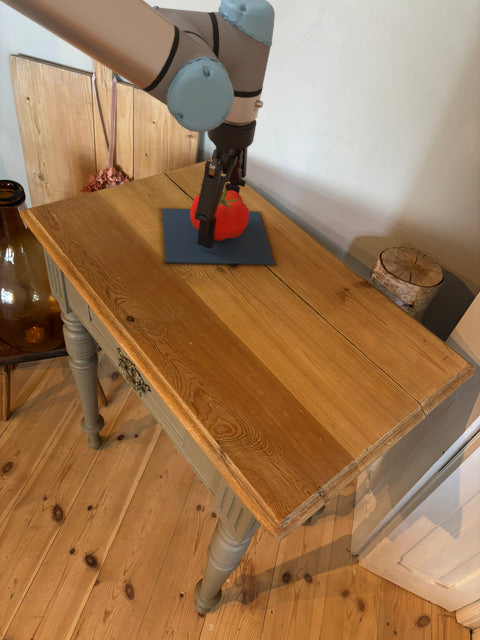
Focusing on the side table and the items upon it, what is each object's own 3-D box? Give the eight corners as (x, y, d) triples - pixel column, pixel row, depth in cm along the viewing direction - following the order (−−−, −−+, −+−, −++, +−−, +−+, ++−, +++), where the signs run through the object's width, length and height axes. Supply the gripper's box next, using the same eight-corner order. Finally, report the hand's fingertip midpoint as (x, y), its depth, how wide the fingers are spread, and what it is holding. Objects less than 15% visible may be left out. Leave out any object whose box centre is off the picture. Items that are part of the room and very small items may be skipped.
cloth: (165, 263, 82) (166, 261, 82) (162, 209, 92) (162, 208, 92) (274, 264, 86) (274, 263, 86) (258, 213, 97) (259, 211, 96)
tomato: (254, 243, 87) (261, 210, 82) (200, 252, 83) (204, 218, 78) (231, 210, 93) (237, 177, 88) (180, 217, 89) (183, 182, 84)
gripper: (227, 153, 64) (210, 271, 80) (278, 97, 79) (255, 206, 95) (178, 136, 65) (171, 256, 81) (238, 84, 80) (222, 194, 96)
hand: (217, 229), depth 88 cm, fingers closed on tomato, 11 cm apart
